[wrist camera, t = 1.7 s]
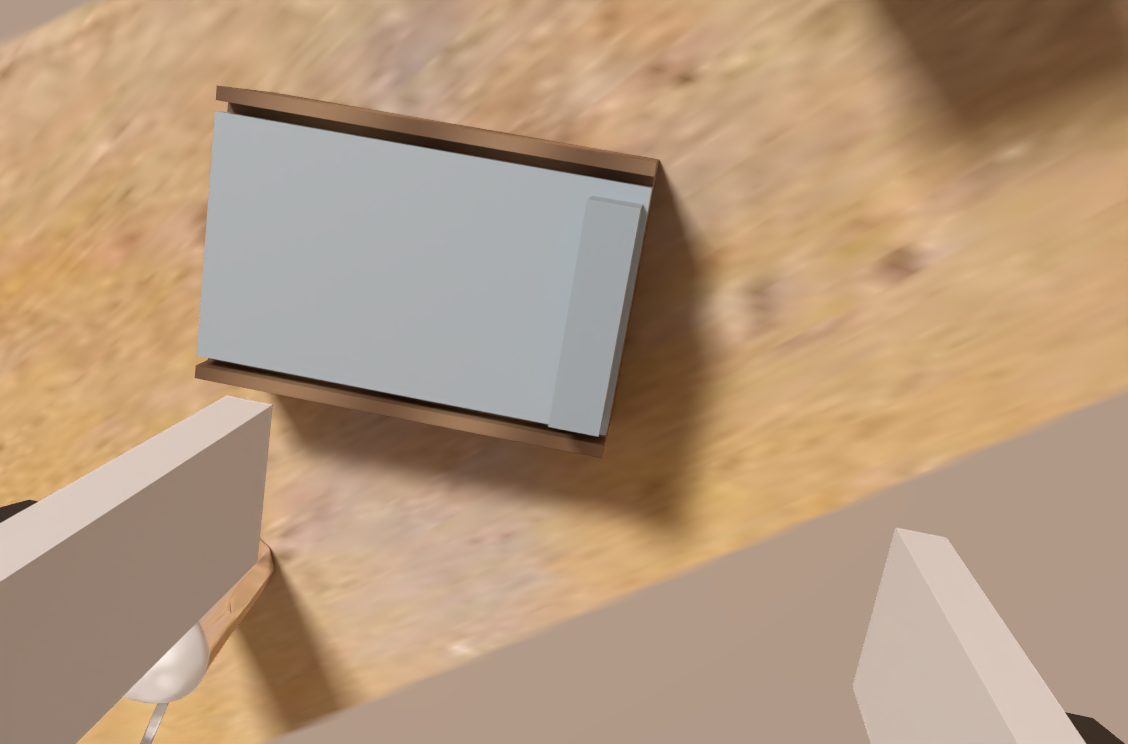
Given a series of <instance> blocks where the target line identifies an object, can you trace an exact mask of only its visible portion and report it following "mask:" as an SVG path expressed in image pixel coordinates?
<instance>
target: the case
mask: <svg viewBox="0 0 1128 744" xmlns="http://www.w3.org/2000/svg"><path fill="white" fill-rule="evenodd" d="M216 100H219V101H225V102H228V111H227V112H230V113H236V114H241V115H247V116H253V117H258V118H264V119H270V120H275V121H281V122H287V123H292V124H298V125H304V126H309V127H315V128H321V129H326V130H332V131H338V132H344V133H349V134H355V135H361V136H366V137H372V138H378V139H383V140H389V141H395V142H400V143H406V144H412V145H417V146H423V147H429V148H434V149H440V150H446V151H451V152H457V153H463V154H468V155H474V156H480V157H485V158H491V159H497V160H502V161H508V162H514V163H519V164H525V165H531V166H536V167H542V168H548V169H553V170H559V171H565V172H570V173H576V174H582V175H587V176H593V177H599V178H604V179H610V180H616V181H621V182H627V183H633V184H639V185H644V186H650V187H653V188H652V193H651V199H650V204H649V209H648V215H647V220H646V225H645V231H644V236H643V241H642V247H641V252H640V257H639V263H638V268H637V273H636V279H635V284H634V290H633V295H632V300H631V306H630V311H629V316H628V322H627V327H626V332H625V338H624V343H623V348H622V354H621V359H620V364H619V370H618V375H617V381H616V386H615V391H614V397H613V402H612V407H611V413H610V418H609V423H608V428H607V433H606V436H605V435H600V434H599V437H598V436H593V435H587V434H582V433H577V432H572V431H567V430H562V429H557V428H552V427H548V425H549V424H544V423H539V422H534V421H529V420H524V419H518V418H513V417H508V416H503V415H498V414H493V413H488V412H483V411H477V410H472V409H467V408H462V407H457V406H452V405H447V404H442V403H437V402H431V401H426V400H421V399H416V398H411V397H406V396H401V395H396V394H390V393H385V392H380V391H375V390H370V389H365V388H360V387H355V386H349V385H344V384H339V383H334V382H329V381H324V380H319V379H314V378H309V377H303V376H298V375H293V374H288V373H283V372H278V371H273V370H268V369H262V368H257V367H252V366H247V365H242V364H237V363H232V362H227V361H222V360H216V359H211V358H208V360H207V361H205V362H203V363H200V364H198V365H196V370H195V378H198V379H203V380H208V381H213V382H218V383H223V384H228V385H233V386H238V387H243V388H248V389H253V390H258V391H264V392H269V393H274V394H279V395H284V396H289V397H294V398H299V399H304V400H309V401H314V402H319V403H324V404H330V405H335V406H340V407H345V408H350V409H355V410H360V411H365V412H370V413H375V414H380V415H385V416H390V417H395V418H401V419H406V420H411V421H416V422H421V423H426V424H431V425H436V426H441V427H446V428H451V429H456V430H461V431H467V432H472V433H477V434H482V435H487V436H492V437H497V438H502V439H507V440H512V441H517V442H522V443H527V444H532V445H538V446H543V447H548V448H553V449H558V450H563V451H568V452H573V453H578V454H583V455H588V456H593V457H598V458H602V454H603V450H604V446H605V442H606V438H607V434H608V430H609V425H610V421H611V416H612V411H613V405H614V400H615V395H616V389H617V384H618V379H619V373H620V368H621V363H622V357H623V352H624V347H625V341H626V336H627V331H628V325H629V320H630V315H631V309H632V304H633V299H634V293H635V288H636V283H637V277H638V272H639V267H640V261H641V256H642V251H643V245H644V240H645V235H646V229H647V224H648V219H649V213H650V208H651V203H652V197H653V192H654V187H655V181H656V176H657V170H658V165H659V160H658V159H652V158H647V157H641V156H635V155H629V154H624V153H618V152H612V151H606V150H601V149H595V148H589V147H583V146H578V145H572V144H566V143H560V142H555V141H549V140H543V139H538V138H532V137H526V136H520V135H515V134H509V133H503V132H497V131H492V130H486V129H480V128H474V127H469V126H463V125H457V124H451V123H446V122H440V121H434V120H428V119H423V118H417V117H411V116H405V115H400V114H394V113H388V112H383V111H377V110H371V109H365V108H360V107H354V106H348V105H342V104H337V103H331V102H325V101H319V100H314V99H308V98H302V97H296V96H291V95H285V94H279V93H273V92H265V91H257V90H249V89H241V88H232V87H224V86H217V92H216Z"/></svg>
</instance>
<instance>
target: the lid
mask: <svg viewBox="0 0 1128 744" xmlns="http://www.w3.org/2000/svg"><path fill="white" fill-rule="evenodd" d="M652 188H653V187H650V186H644V185H639V184H633V183H627V182H621V181H616V180H610V179H604V178H599V177H593V176H587V175H582V174H576V173H570V172H565V171H559V170H553V169H548V168H542V167H536V166H531V165H525V164H519V163H514V162H508V161H502V160H497V159H491V158H485V157H480V156H474V155H468V154H463V153H457V152H451V151H446V150H440V149H434V148H429V147H423V146H417V145H412V144H406V143H400V142H395V141H389V140H383V139H378V138H372V137H366V136H361V135H355V134H349V133H344V132H338V131H332V130H326V129H321V128H315V127H309V126H304V125H298V124H292V123H287V122H281V121H275V120H270V119H264V118H258V117H253V116H247V115H241V114H236V113H230V112H219V111H215V119H214V132H213V145H212V158H211V171H210V185H209V198H208V211H207V224H206V238H205V251H204V264H203V277H202V291H201V304H200V317H199V330H198V344H197V356H201V357H206V358H211V359H216V360H222V361H227V362H232V363H237V364H242V365H247V366H252V367H257V368H262V369H268V370H273V371H278V372H283V373H288V374H293V375H298V376H303V377H309V378H314V379H319V380H324V381H329V382H334V383H339V384H344V385H349V386H355V387H360V388H365V389H370V390H375V391H380V392H385V393H390V394H396V395H401V396H406V397H411V398H416V399H421V400H426V401H431V402H437V403H442V404H447V405H452V406H457V407H462V408H467V409H472V410H477V411H483V412H488V413H493V414H498V415H503V416H508V417H513V418H518V419H524V420H529V421H534V422H539V423H544V424H549V425H548V427H552V428H557V429H562V430H567V431H572V432H577V433H582V434H587V435H593V436H598V437H599V434H600V435H605V436H606V433H607V428H608V423H609V418H610V413H611V407H612V402H613V397H614V391H615V386H616V381H617V375H618V370H619V364H620V359H621V354H622V348H623V343H624V338H625V332H626V327H627V322H628V316H629V311H630V306H631V300H632V295H633V290H634V284H635V279H636V273H637V268H638V263H639V257H640V252H641V247H642V241H643V236H644V231H645V225H646V220H647V215H648V209H649V204H650V199H651V193H652Z"/></svg>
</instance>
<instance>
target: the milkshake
mask: <svg viewBox="0 0 1128 744" xmlns="http://www.w3.org/2000/svg"><path fill="white" fill-rule="evenodd" d="M273 571H274V565H273V561H272V556H271V552H270V548H269V547H268V546H267V545H266V544H265V543H264V542H263V541H262V540H261V539H260V541H259V551H258V561H257V563H256V564H255V565H254V566H253V567H252V568H251V569H250V570H249V571H248V572H247V573H246V574H245V575H244V576H243V577H242V578H241V579H240V580H239V581H238V582H237V583H236V584H235V585H234V586H233V587H232V588H231V589H230V590H229V591H228V592H227V593H226V594H225V595H224V596H223V597H222V598H221V599H220V600H219V601H218V602H217V603H216V604H215V605H214V606H213V607H212V608H211V609H210V610H209V611H208V612H207V613H206V614H205V615H204V616H203V617H202V618H201V619H200V620H199V621H198V622H197V623H196V624H195V625H194V626H193V627H192V628H191V629H190V630H189V631H188V632H187V633H186V634H185V635H184V636H183V637H182V638H181V639H180V640H179V641H178V642H177V643H176V644H175V645H174V646H173V647H172V648H171V649H170V650H169V651H168V652H167V653H166V654H165V655H164V656H163V657H162V658H161V659H160V660H159V661H158V662H157V663H156V664H155V665H154V666H153V667H152V668H151V669H150V670H149V671H148V672H147V673H146V674H145V675H144V676H143V677H142V678H141V679H140V680H139V681H138V682H137V683H136V684H135V685H134V686H133V687H132V688H131V689H130V690H129V691H128V692H127V693H126V694H125V695H124V697H126V698H128V699H131V700H135V701H139V702H144V703H157V705H156V708H155V710H154V712H153V715H152V717H151V719H150V722H149V724H148V726H147V729H146V731H145V733H144V736H143V738H142V740H141V743H140V744H152V741H153V739H154V736H155V734H156V732H157V729H158V727H159V725H160V722H161V720H162V718H163V715H164V713H165V710H166V708H167V706H168V703H169V702H172V701H175V700H178V699H181V698H183V697H185V696H186V695H188V694H189V693H190V692H192V691H193V690H194V689H195V688H196V687H197V685H198V684H199V683H200V681H201V680H202V678H203V677H204V675H205V674H206V672H207V671H208V669H209V668H210V666H211V665H212V663H213V661H214V660H215V658H216V657H217V655H218V654H219V652H220V651H221V649H222V648H223V646H224V645H225V643H226V641H227V640H228V639H229V637H230V636H231V634H232V633H233V632H234V630H235V629H236V628H237V626H238V625H239V623H240V622H241V621H242V619H243V618H244V617H245V615H246V614H247V612H248V611H249V610H250V608H251V607H252V605H253V604H254V603H255V601H256V600H257V599H258V597H259V596H260V594H261V593H262V592H263V590H264V589H265V587H266V585H267V583H268V581H269V579H270V577H271V575H272V573H273Z"/></svg>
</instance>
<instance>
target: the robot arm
mask: <svg viewBox="0 0 1128 744" xmlns="http://www.w3.org/2000/svg"><path fill="white" fill-rule="evenodd" d="M272 406H273V405H272V404H267V403H262V402H257V401H252V400H247V399H242V398H237V397H232V396H225V397H223V398H221V399H220V400H218V401H216V402H214V403H213V404H211V405H209V406H207V407H205V408H204V409H202V410H200V411H198V412H197V413H195V414H193V415H191V416H189V417H188V418H186V419H184V420H182V421H181V422H179V423H177V424H175V425H173V426H172V427H170V428H168V429H166V430H165V431H163V432H161V433H159V434H158V435H156V436H154V437H152V438H150V439H149V440H147V441H145V442H143V443H142V444H140V445H138V446H136V447H134V448H133V449H131V450H129V451H127V452H126V453H124V454H122V455H120V456H118V457H117V458H115V459H113V460H111V461H110V462H108V463H106V464H104V465H103V466H101V467H99V468H97V469H95V470H94V471H92V472H90V473H88V474H87V475H85V476H83V477H81V478H79V479H78V480H76V481H74V482H72V483H71V484H69V485H67V486H65V487H63V488H62V489H60V490H58V491H56V492H55V493H53V494H51V495H49V496H47V497H46V498H44V499H42V500H40V501H39V502H38V501H33V500H26V501H22V502H19V503H15V504H11V505H8V506H4V507H0V744H76V743H77V742H78V741H79V740H80V739H81V738H82V737H83V736H84V735H85V734H86V733H87V732H88V731H89V730H90V729H91V728H92V727H93V726H94V725H95V724H96V723H97V722H98V721H99V720H100V719H101V718H102V717H103V716H104V715H105V714H106V713H107V712H108V711H109V710H110V709H111V708H112V707H113V706H114V705H115V704H116V703H117V702H118V701H119V700H120V699H121V698H122V697H123V696H124V695H125V694H126V693H127V692H128V691H129V690H130V689H131V688H132V687H133V686H134V685H135V684H136V683H137V682H138V681H139V680H140V679H141V678H142V677H143V676H144V675H145V674H146V673H147V672H148V671H149V670H150V669H151V668H152V667H153V666H154V665H155V664H156V663H157V662H158V661H159V660H160V659H161V658H162V657H163V656H164V655H165V654H166V653H167V652H168V651H169V650H170V649H171V648H172V647H173V646H174V645H175V644H176V643H177V642H178V641H179V640H180V639H181V638H182V637H183V636H184V635H185V634H186V633H187V632H188V631H189V630H190V629H191V628H192V627H193V626H194V625H195V624H196V623H197V622H198V621H199V620H200V619H201V618H202V617H203V616H204V615H205V614H206V613H207V612H208V611H209V610H210V609H211V608H212V607H213V606H214V605H215V604H216V603H217V602H218V601H219V600H220V599H221V598H222V597H223V596H224V595H225V594H226V593H227V592H228V591H229V590H230V589H231V588H232V587H233V586H234V585H235V584H236V583H237V582H238V581H239V580H240V579H241V578H242V577H243V576H244V575H245V574H246V573H247V572H248V571H249V570H250V569H251V568H252V567H253V566H254V565H255V564H256V563H257V561H258V551H259V541H260V530H261V520H262V510H263V499H264V489H265V479H266V468H267V458H268V448H269V437H270V427H271V417H272ZM853 689H854V692H855V696H856V699H857V702H858V705H859V708H860V711H861V714H862V717H863V721H864V724H865V727H866V730H867V732H868V736H869V739H870V742H871V744H1124V743H1123V742H1122V741H1121V740H1120V739H1118V738H1117V737H1115V735H1113V734H1112V733H1111V732H1109V731H1108V730H1107V729H1106V728H1105V727H1103V726H1102V725H1101V724H1099V723H1098V722H1097V721H1096V720H1095V719H1093V718H1089V717H1085V716H1080V715H1075V714H1070V713H1066V712H1064V710H1063V709H1062V708H1061V706H1060V704H1059V703H1058V702H1057V700H1056V699H1055V697H1054V696H1053V694H1052V693H1051V691H1050V690H1049V688H1048V687H1047V685H1046V684H1045V682H1044V681H1043V679H1042V678H1041V676H1040V675H1039V674H1038V672H1037V671H1036V670H1035V668H1034V666H1033V665H1032V664H1031V662H1030V660H1029V659H1028V657H1027V656H1026V654H1025V653H1024V651H1023V650H1022V649H1021V647H1020V646H1019V644H1018V643H1017V641H1016V640H1015V638H1014V637H1013V635H1012V634H1011V632H1010V631H1009V629H1008V628H1007V626H1006V625H1005V623H1004V622H1003V621H1002V619H1001V618H1000V616H999V615H998V613H997V612H996V610H995V609H994V607H993V606H992V604H991V603H990V601H989V600H988V599H987V597H986V595H985V594H984V592H983V591H982V590H981V588H980V587H979V585H978V584H977V582H976V581H975V579H974V578H973V576H972V575H971V573H970V572H969V570H968V569H967V568H966V566H965V565H964V563H963V562H962V560H961V559H960V557H959V556H958V554H957V553H956V551H955V550H954V548H953V547H952V545H951V544H950V542H949V541H948V539H947V538H945V537H941V536H936V535H930V534H925V533H920V532H915V531H910V530H905V529H900V528H895V532H894V535H893V539H892V543H891V546H890V550H889V554H888V557H887V562H886V565H885V569H884V572H883V576H882V580H881V583H880V587H879V591H878V594H877V598H876V602H875V605H874V609H873V613H872V617H871V620H870V624H869V628H868V631H867V635H866V639H865V642H864V646H863V650H862V653H861V657H860V661H859V665H858V669H857V672H856V676H855V680H854V683H853Z"/></svg>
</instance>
